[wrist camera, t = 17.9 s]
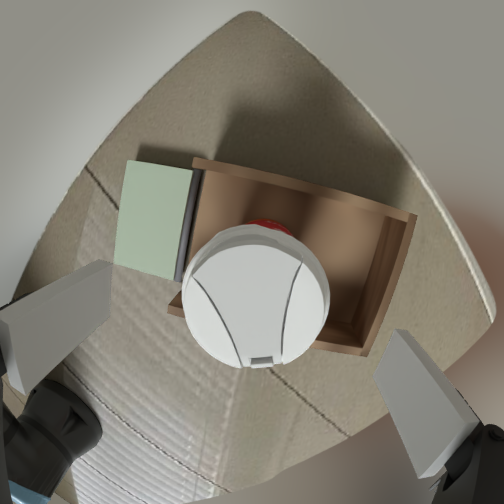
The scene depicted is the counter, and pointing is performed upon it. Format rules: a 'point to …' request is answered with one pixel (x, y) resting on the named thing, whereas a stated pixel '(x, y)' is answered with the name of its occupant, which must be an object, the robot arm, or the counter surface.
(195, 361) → the counter surface
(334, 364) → the counter surface
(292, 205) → the crate
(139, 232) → the book
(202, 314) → the paper cup
